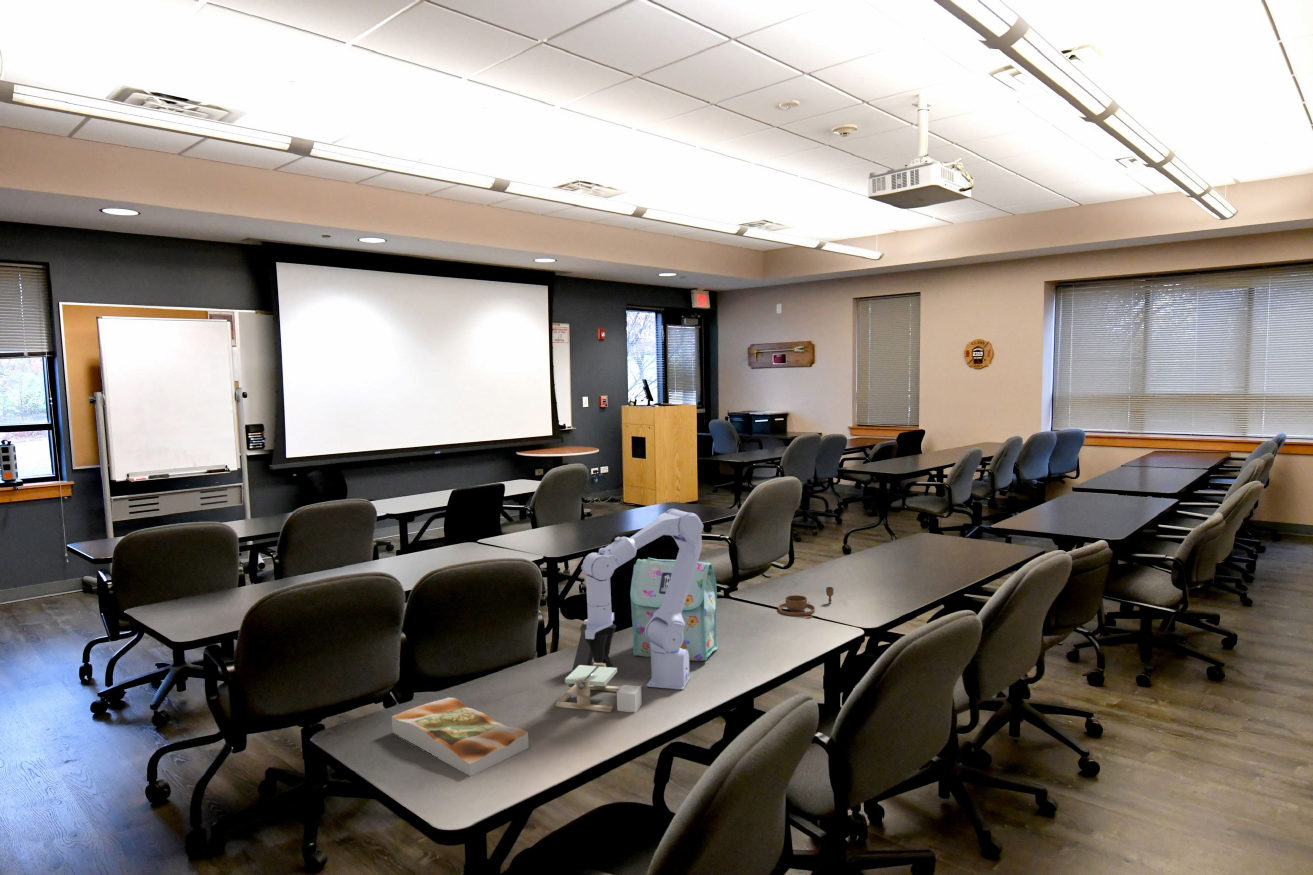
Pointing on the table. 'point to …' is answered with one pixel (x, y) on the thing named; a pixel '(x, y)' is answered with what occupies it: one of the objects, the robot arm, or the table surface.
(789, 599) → the place setting
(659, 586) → the lunch bag
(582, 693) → the trapdoor frame
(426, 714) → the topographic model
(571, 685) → the trapdoor
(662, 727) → the table surface
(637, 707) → the light grey cube
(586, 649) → the phone stand
